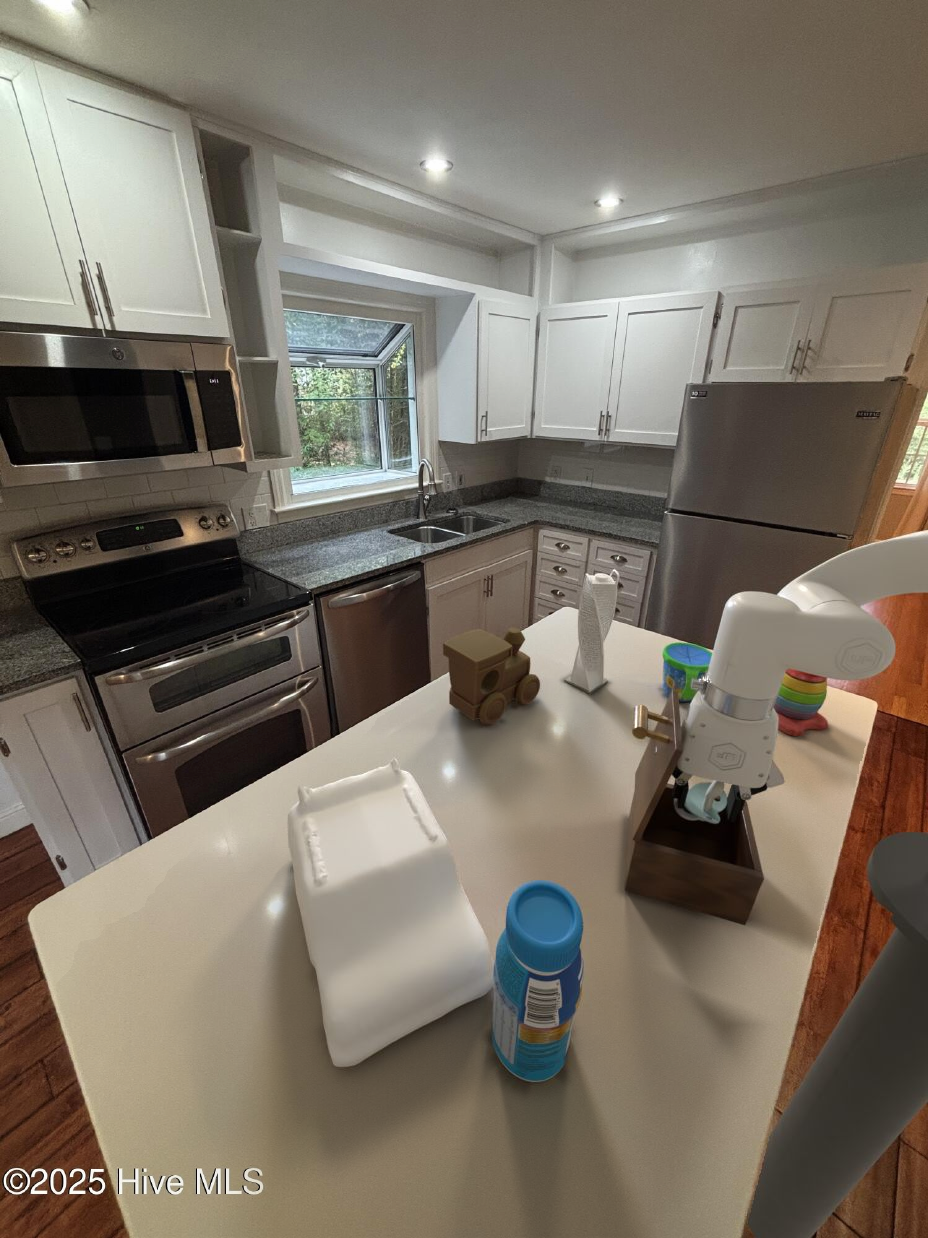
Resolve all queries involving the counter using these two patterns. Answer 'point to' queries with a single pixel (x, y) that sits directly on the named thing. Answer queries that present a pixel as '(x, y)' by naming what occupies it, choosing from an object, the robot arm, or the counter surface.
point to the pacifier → (704, 802)
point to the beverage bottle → (537, 980)
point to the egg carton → (382, 911)
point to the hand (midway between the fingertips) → (704, 806)
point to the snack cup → (684, 668)
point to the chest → (695, 861)
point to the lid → (655, 758)
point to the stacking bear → (800, 702)
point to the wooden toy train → (489, 673)
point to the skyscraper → (593, 630)
